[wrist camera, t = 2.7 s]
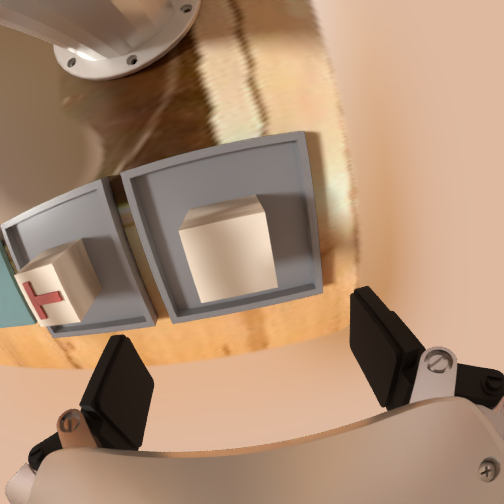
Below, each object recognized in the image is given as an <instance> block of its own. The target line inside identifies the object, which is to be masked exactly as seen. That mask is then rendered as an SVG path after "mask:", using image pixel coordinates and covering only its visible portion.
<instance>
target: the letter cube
mask: <svg viewBox="0 0 504 504" xmlns="http://www.w3.org/2000/svg"><path fill="white" fill-rule="evenodd" d="M14 276H15V279H16V281H17V283H18V285H19V287H20V289H21V291H22V293H23V295H24V297H25V299H26V301H27V303H28V305H29V307H30V309H31V310H32V312H33V314H34V316H35V317H36V319H37V321H38V323H39V324H40V326H41V327H45V326H53V325H61V324H69V323H77V322H81V321H82V319H83V318H84V316H85V314H86V313H87V311H88V310H89V308H90V307H91V305H92V304H93V302H94V301H95V299H96V298H97V296H98V295H99V293H100V292H101V290H102V287H101V285H100V282H99V280H98V278H97V276H96V273H95V271H94V269H93V266H92V264H91V261H90V259H89V257H88V254H87V251H86V249H85V246H84V244H83V241H82V238H80V239H77V240H74V241H71V242H68V243H65V244H62V245H59V246H56V247H53V248H50V249H47V250H44V251H43V252H41V253H40V254H39V255H38V256H36V257H35V258H34V259H33V260H31V261H30V262H29V263H28V264H27V265H26V266H24V267H23V268H22V269H21V270H20V271H19V272H17V273H16V274H15V275H14Z"/></svg>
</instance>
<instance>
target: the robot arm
mask: <svg viewBox="0 0 504 504" xmlns="http://www.w3.org/2000/svg"><path fill="white" fill-rule="evenodd" d="M200 4H201V0H0V24H1V25H4V26H8V27H10V28H13V29H16V30H19V31H22V32H25V33H27V34H30V35H32V36H35V37H38V38H40V39H43V40H45V41H47V42H50V43H52V44H53V46H54V53H55V56H56V58H57V61H58V63H59V64H60V65H61V66H62V67H63V69H64V70H66V71H67V72H69V73H70V74H72V75H74V76H77V77H80V78H82V79H88V80H93V81H100V80H111V79H116V78H121V77H124V76H127V75H130V74H133V73H135V72H137V71H139V70H141V69H143V68H145V67H147V66H149V65H151V64H152V63H154V62H155V61H157V60H159V59H160V58H162V57H163V56H164V55H166V54H167V53H168V52H169V51H170V50H171V49H173V48H174V47H175V46H176V45H177V44H178V43H179V42H180V41H181V40H182V38H183V37H184V36H185V35H186V34H187V32H188V31H189V29H190V28H191V26H192V25H193V24H194V22H195V19H196V17H197V15H198V12H199V9H200ZM187 11H190V12H188V13H185V12H187ZM135 60H138V61H137V62H136V63H135V64H134V65H133V62H134V61H135ZM350 348H351V350H352V352H353V354H354V356H355V358H356V359H357V361H358V363H359V365H360V367H361V369H362V371H363V373H364V374H365V377H366V378H367V380H368V382H369V384H370V386H371V388H372V390H373V392H374V394H375V395H376V397H377V400H378V402H379V403H380V405H381V407H386V409H387V412H384V413H381V414H379V415H376V416H373V417H370V418H367V419H364V420H361V421H359V422H355V423H352V424H349V425H346V426H342V427H339V428H336V429H332V430H329V431H325V432H321V433H318V434H314V435H309V436H305V437H301V438H297V439H292V440H287V441H282V442H277V443H271V444H265V445H258V446H252V447H244V448H235V449H226V450H214V451H198V452H149V451H138V449H139V447H141V445H142V442H143V436H144V431H145V426H146V421H147V416H148V411H149V407H150V402H151V398H152V393H153V389H154V381H153V378H152V377H151V375H150V374H149V372H148V370H147V368H146V367H145V365H144V363H143V362H142V360H141V358H140V357H139V355H138V353H137V351H136V349H135V348H134V346H133V344H132V342H131V340H130V339H129V338H128V337H126V336H125V335H123V334H122V335H114V336H111V337H110V339H109V341H108V343H107V345H106V347H105V349H104V351H103V353H102V355H101V357H100V359H99V361H98V364H97V366H96V368H95V370H94V372H93V374H92V377H91V379H90V381H89V383H88V386H87V388H86V390H85V393H84V395H83V397H82V400H81V402H80V404H79V405H80V406H81V407H82V408H81V411H79V410H77V409H69V410H67V411H65V412H64V413H62V415H61V416H60V417H59V419H58V421H57V431H58V432H56V433H55V434H53V435H52V436H50V437H49V438H47V439H45V440H44V441H43V442H41V443H39V444H37V445H36V446H34V447H33V448H32V450H31V451H30V453H29V456H28V461H29V464H27V463H25V464H24V465H23V466H22V467H21V469H20V470H19V471H18V472H17V473H16V474H15V475H14V476H13V477H12V478H11V480H10V481H9V482H8V483H7V485H6V488H5V494H6V496H7V498H8V500H9V502H10V503H11V504H504V375H503V373H501V372H500V371H498V370H494V369H488V368H482V367H476V366H470V365H464V364H459V363H457V358H456V356H455V354H454V353H453V352H452V351H451V350H449V349H447V348H444V347H432V348H429V349H427V350H426V349H425V348H424V346H423V345H422V344H421V343H420V342H419V340H418V339H417V338H416V337H415V335H414V334H413V333H412V332H411V331H410V329H409V328H408V327H407V326H406V325H405V323H404V322H403V321H402V320H401V319H400V318H399V317H398V315H397V314H396V313H395V312H394V311H390V310H389V309H388V308H387V307H386V305H385V304H384V303H383V302H382V301H381V300H380V298H379V297H378V296H377V295H376V294H375V293H374V292H373V291H372V290H371V288H370V287H369V286H365V287H361V288H357V289H355V290H354V293H352V294H351V295H350Z"/></svg>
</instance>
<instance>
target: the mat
mask: <svg viewBox="0 0 504 504" xmlns="http://www.w3.org/2000/svg"><path fill="white" fill-rule="evenodd" d="M14 275H15V273H14V271H13V268H12V266H11V264H10V261H9V259H8V256H7V254H6V251H5V249H4V246H3V243H2V241H0V328H5V327H14V326H23V325H32V324H36V323H37V319H36V317H35V316H34V314H33V312H32V310H31V309H30V307H29V305H28V303H27V301H26V299H25V297H24V295H23V293H22V291H21V289H20V287H19V285H18V283H17V281H16V279H15V276H14Z"/></svg>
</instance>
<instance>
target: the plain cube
mask: <svg viewBox="0 0 504 504" xmlns="http://www.w3.org/2000/svg"><path fill="white" fill-rule="evenodd" d="M179 234H180V238H181V241H182V245H183V248H184V251H185V254H186V258H187V261H188V264H189V267H190V270H191V273H192V276H193V279H194V283H195V286H196V289H197V292H198V295H199V297H200V300H201V303H205V302H210V301H215V300H220V299H225V298H230V297H235V296H240V295H245V294H250V293H255V292H259V291H264V290H269V289H273V288H278V284H277V278H276V272H275V266H274V260H273V255H272V249H271V243H270V237H269V232H268V226H267V221H266V215H265V211H264V209H263V207H262V206H261V204H260V202H259V200H258V198H257V196H256V194H255V195H250V196H245V197H240V198H236V199H231V200H227V201H222V202H218V203H213V204H209V205H204V206H200V207H196V208H192V209H189V210H188V212H187V214H186V216H185V218H184V221H183V223H182V225H181V227H180V229H179Z"/></svg>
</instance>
